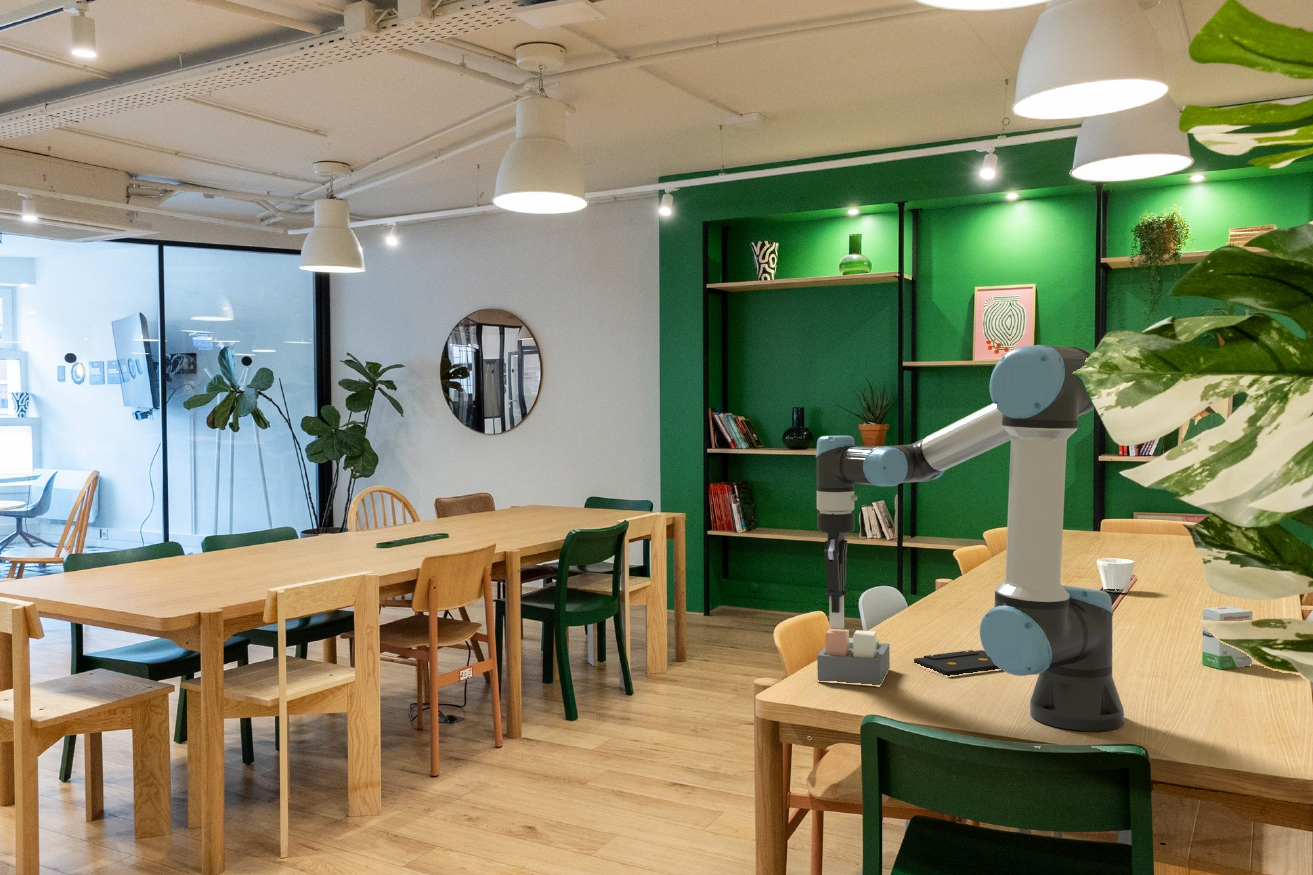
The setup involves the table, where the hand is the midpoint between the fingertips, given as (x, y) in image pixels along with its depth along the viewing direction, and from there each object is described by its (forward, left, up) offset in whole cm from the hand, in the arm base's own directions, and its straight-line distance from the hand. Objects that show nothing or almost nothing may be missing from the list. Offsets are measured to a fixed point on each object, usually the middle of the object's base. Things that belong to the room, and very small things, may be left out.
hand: (836, 627), depth 199 cm
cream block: (0, -6, -7) cm, 9 cm away
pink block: (0, 0, -7) cm, 7 cm away
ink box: (+34, -75, -11) cm, 83 cm away
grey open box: (+3, -3, -11) cm, 12 cm away
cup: (+116, -60, -11) cm, 131 cm away
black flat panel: (+18, -24, -11) cm, 32 cm away
